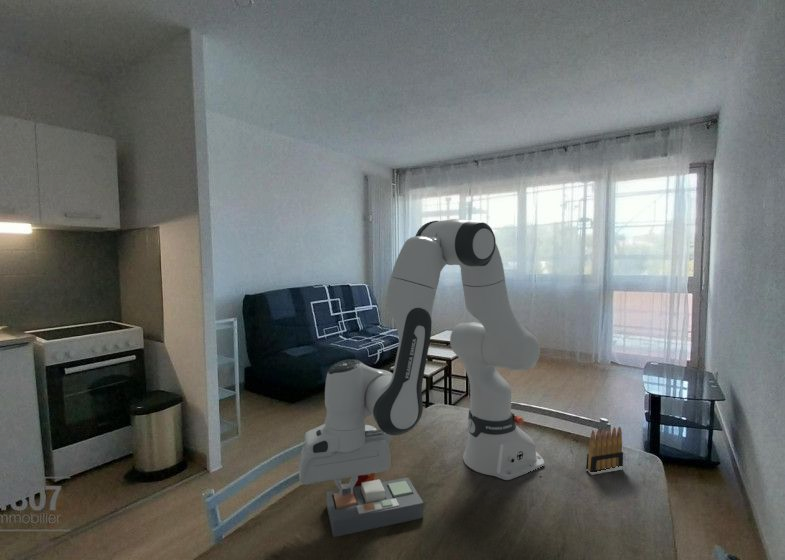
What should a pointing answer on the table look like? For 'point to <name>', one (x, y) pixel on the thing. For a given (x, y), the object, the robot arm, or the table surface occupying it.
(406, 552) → the table surface
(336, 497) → the key terracotta
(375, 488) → the key white
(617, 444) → the ammunition clip
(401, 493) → the key sage
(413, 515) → the keypad housing
